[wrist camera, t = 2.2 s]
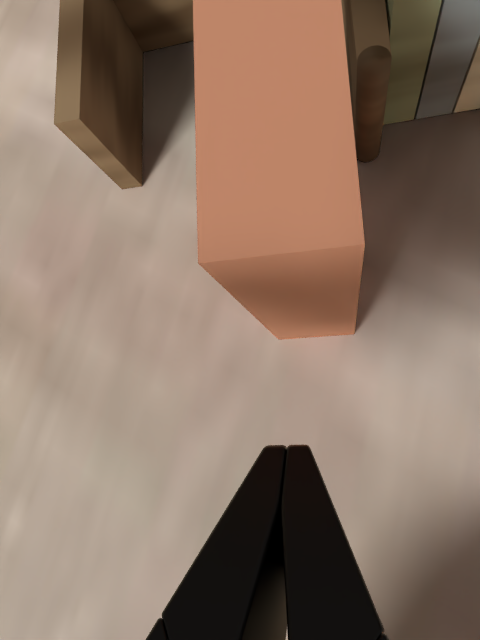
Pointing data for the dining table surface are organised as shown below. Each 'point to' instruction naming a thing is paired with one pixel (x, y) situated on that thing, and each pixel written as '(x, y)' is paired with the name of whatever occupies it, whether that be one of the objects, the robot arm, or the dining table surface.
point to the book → (278, 162)
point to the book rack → (177, 27)
